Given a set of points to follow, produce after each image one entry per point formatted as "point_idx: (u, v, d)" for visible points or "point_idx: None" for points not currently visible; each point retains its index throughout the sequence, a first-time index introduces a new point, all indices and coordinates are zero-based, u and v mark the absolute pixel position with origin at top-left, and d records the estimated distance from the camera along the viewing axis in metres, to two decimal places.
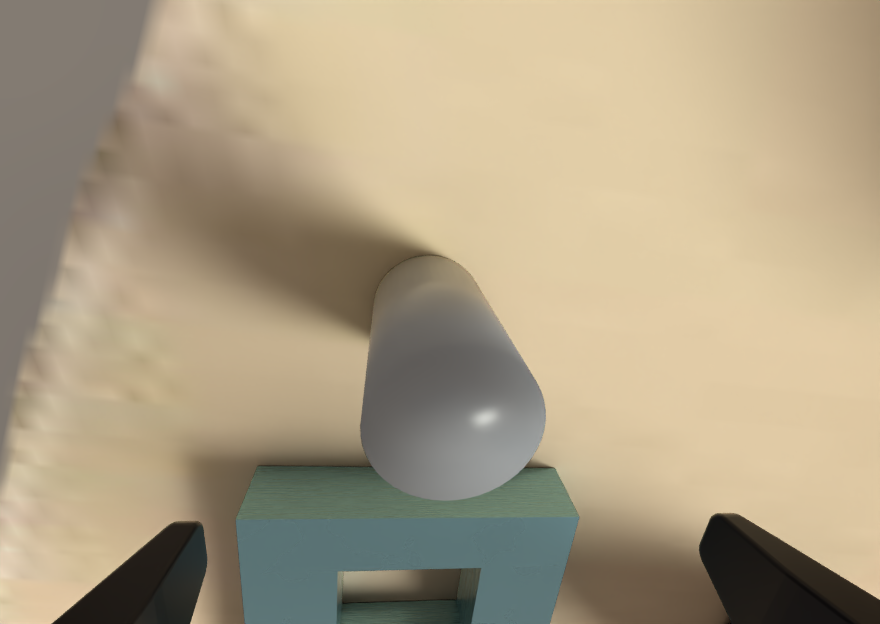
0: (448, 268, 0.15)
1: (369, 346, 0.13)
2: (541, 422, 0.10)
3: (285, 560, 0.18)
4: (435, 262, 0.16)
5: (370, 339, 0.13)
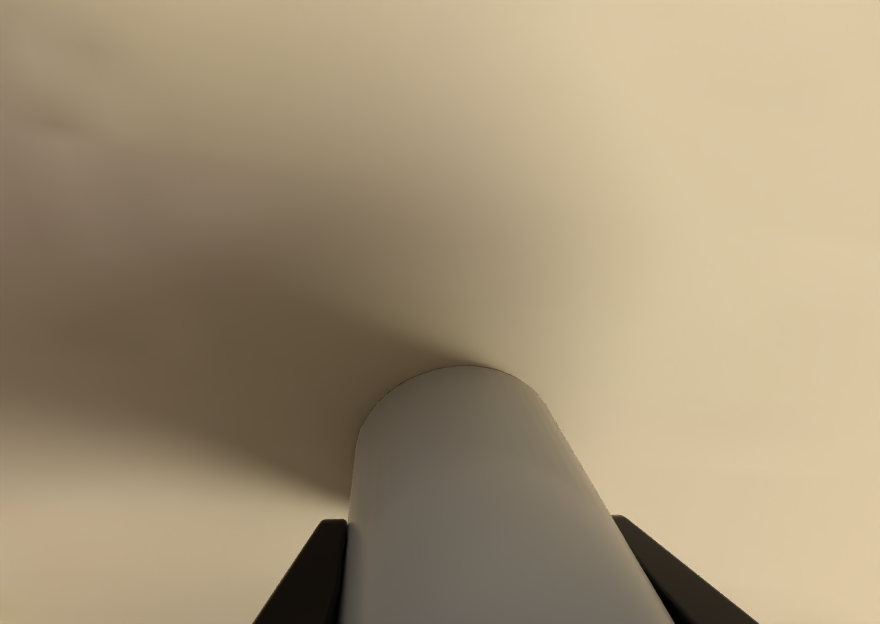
0: (510, 415, 0.07)
1: None
2: None
3: None
4: (479, 394, 0.08)
5: None
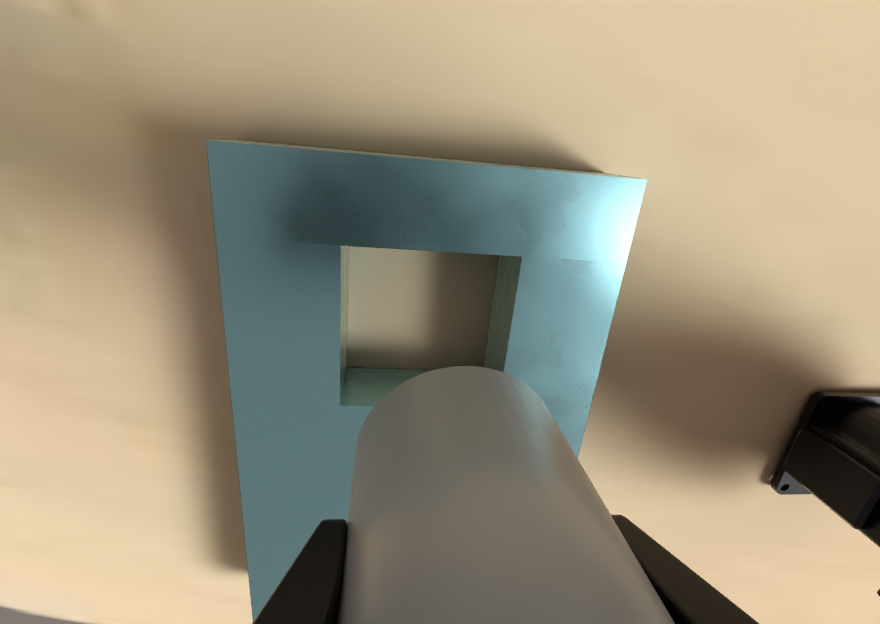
0: (510, 416, 0.07)
1: None
2: None
3: (273, 219, 0.14)
4: (479, 394, 0.08)
5: None
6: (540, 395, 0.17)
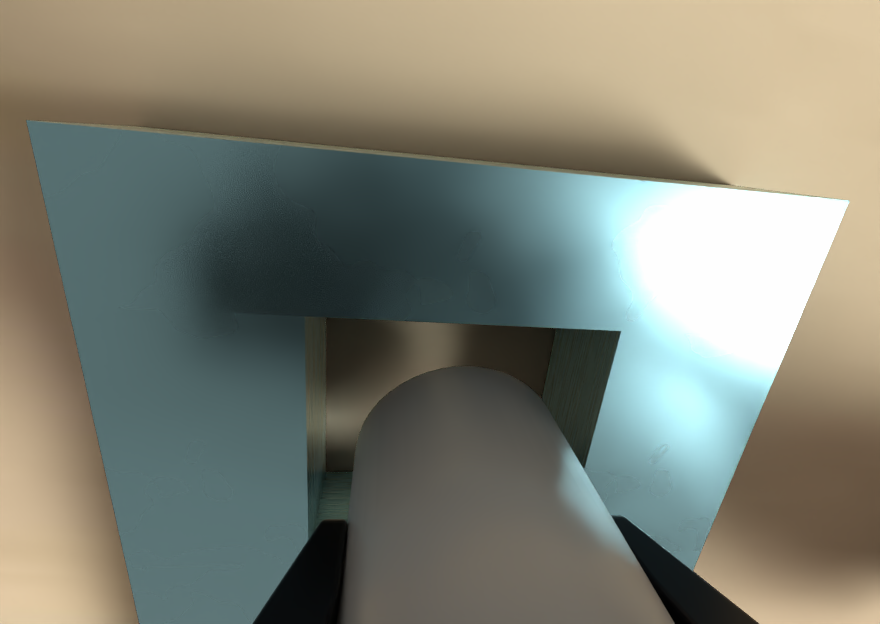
0: (510, 416, 0.07)
1: None
2: None
3: (176, 272, 0.07)
4: (479, 395, 0.08)
5: None
6: None
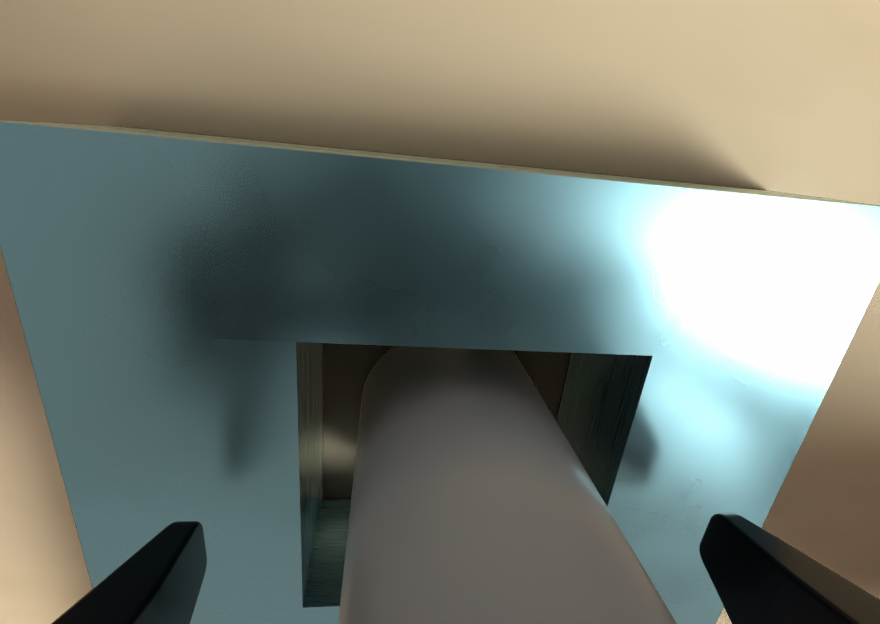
0: (486, 360, 0.09)
1: (346, 548, 0.07)
2: None
3: (148, 294, 0.06)
4: None
5: (350, 523, 0.07)
6: (653, 574, 0.10)
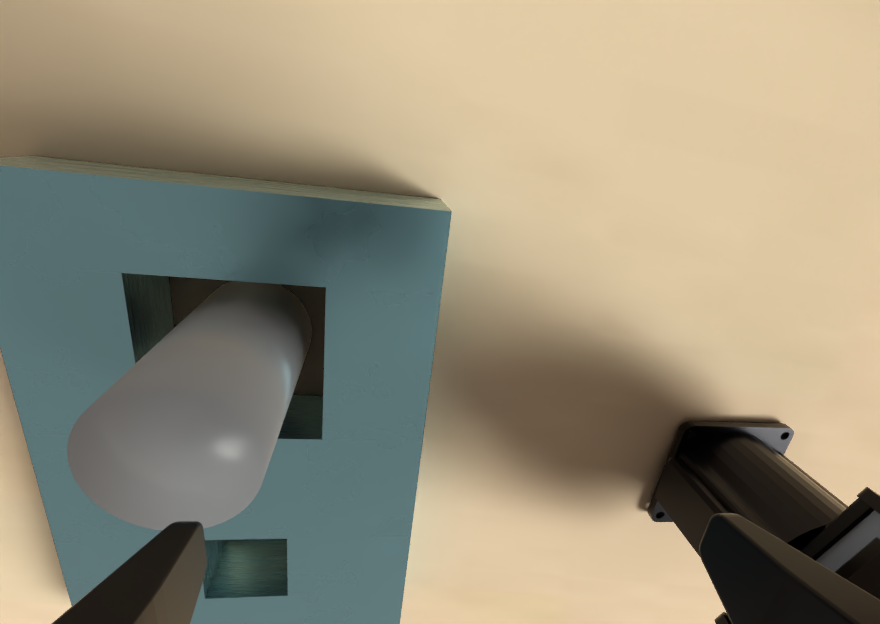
0: (254, 294, 0.16)
1: None
2: (260, 458, 0.11)
3: (40, 245, 0.13)
4: (247, 287, 0.16)
5: None
6: (366, 427, 0.17)
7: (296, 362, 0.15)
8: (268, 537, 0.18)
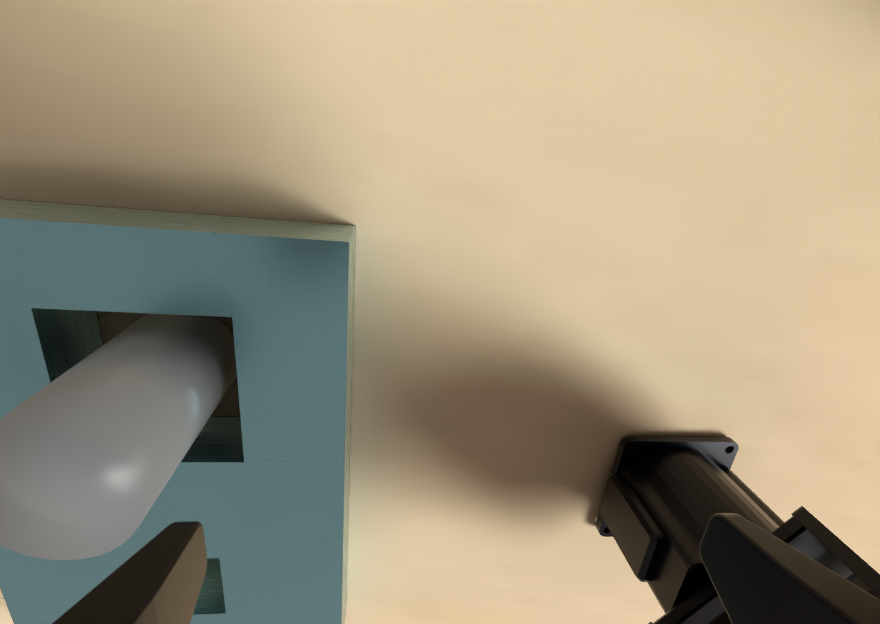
0: (172, 322, 0.16)
1: None
2: (137, 490, 0.11)
3: None
4: (167, 315, 0.17)
5: None
6: (287, 450, 0.17)
7: (208, 389, 0.15)
8: None
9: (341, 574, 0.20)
